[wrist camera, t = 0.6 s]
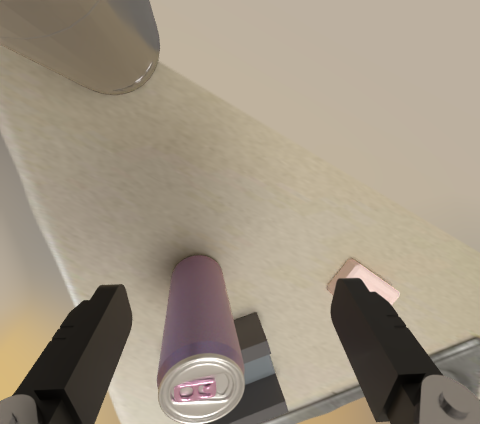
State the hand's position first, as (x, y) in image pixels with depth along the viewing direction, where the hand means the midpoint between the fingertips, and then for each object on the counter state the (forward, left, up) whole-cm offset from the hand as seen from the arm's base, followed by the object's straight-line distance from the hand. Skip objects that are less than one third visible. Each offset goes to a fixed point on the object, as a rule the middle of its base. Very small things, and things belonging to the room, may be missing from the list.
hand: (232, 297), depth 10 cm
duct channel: (+20, -12, -19) cm, 30 cm away
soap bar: (+23, +9, -20) cm, 32 cm away
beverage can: (+7, -7, -20) cm, 22 cm away
